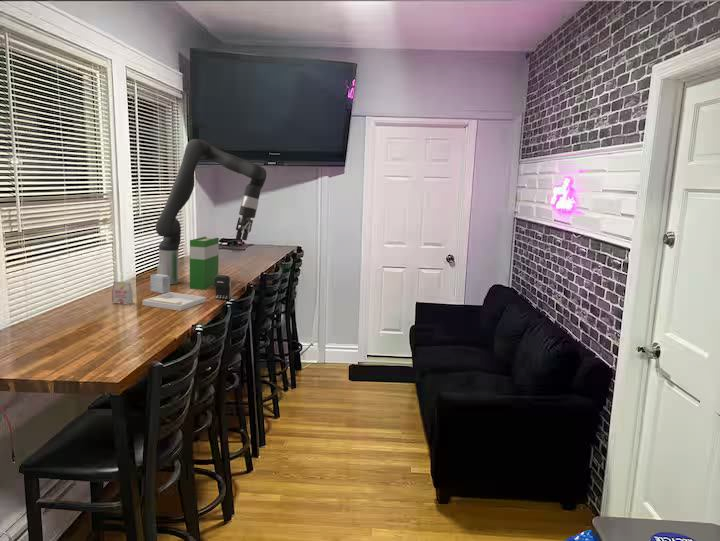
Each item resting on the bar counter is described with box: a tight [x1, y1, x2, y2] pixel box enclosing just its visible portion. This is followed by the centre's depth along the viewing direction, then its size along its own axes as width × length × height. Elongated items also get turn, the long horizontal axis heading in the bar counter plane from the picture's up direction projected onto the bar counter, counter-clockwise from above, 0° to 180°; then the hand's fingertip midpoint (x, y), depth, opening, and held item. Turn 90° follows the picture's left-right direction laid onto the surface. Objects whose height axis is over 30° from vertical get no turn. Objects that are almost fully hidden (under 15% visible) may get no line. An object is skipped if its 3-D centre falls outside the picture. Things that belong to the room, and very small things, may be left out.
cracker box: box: [151, 298, 182, 305], centre depth 203 cm, size 12×4×2 cm, turn 74°
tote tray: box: [142, 291, 207, 312], centre depth 209 cm, size 18×18×3 cm
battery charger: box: [213, 273, 232, 301], centre depth 223 cm, size 7×4×11 cm, turn 81°
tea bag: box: [111, 281, 134, 305], centre depth 203 cm, size 4×7×10 cm, turn 87°
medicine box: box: [149, 273, 171, 294], centre depth 228 cm, size 8×4×9 cm, turn 65°
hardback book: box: [189, 236, 220, 291], centre depth 248 cm, size 18×7×24 cm, turn 174°
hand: (241, 239), depth 234 cm, fingers open, 8 cm apart
